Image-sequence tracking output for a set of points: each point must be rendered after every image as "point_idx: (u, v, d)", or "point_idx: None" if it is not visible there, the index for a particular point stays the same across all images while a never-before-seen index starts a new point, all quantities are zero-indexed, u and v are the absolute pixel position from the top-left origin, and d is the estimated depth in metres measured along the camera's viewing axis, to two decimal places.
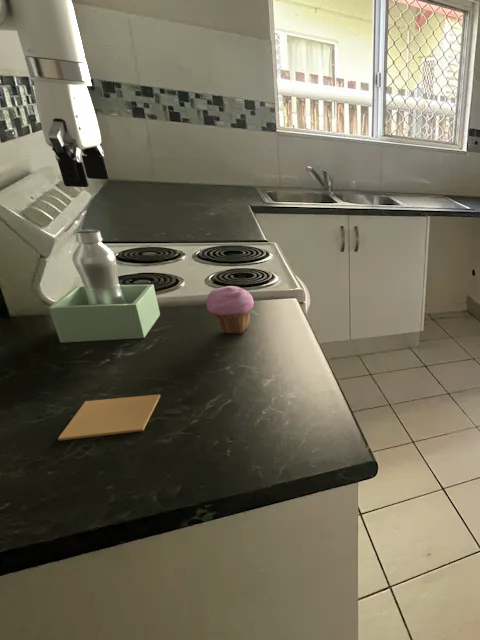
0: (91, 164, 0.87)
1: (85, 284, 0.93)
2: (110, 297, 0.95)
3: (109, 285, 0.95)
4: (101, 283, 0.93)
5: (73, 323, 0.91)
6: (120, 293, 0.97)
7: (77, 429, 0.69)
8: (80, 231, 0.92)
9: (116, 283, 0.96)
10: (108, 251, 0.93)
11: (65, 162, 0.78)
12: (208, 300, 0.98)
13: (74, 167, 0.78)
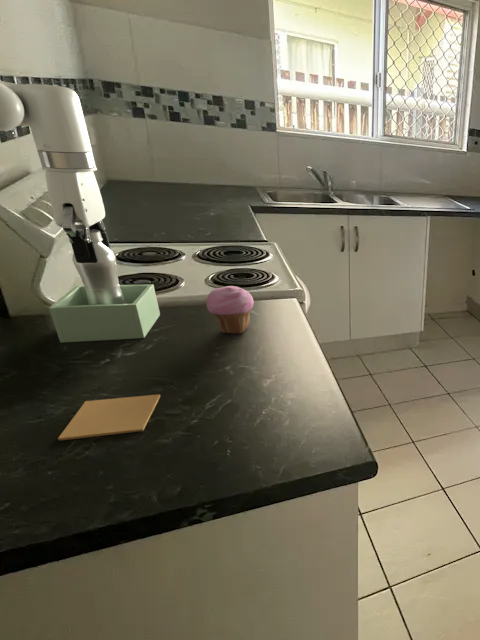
0: None
1: (85, 284, 0.93)
2: (110, 297, 0.95)
3: (109, 285, 0.95)
4: (101, 283, 0.94)
5: (73, 323, 0.91)
6: (120, 293, 0.97)
7: (77, 429, 0.69)
8: None
9: (116, 283, 0.96)
10: (108, 251, 0.93)
11: (77, 243, 0.88)
12: (208, 300, 0.98)
13: (85, 247, 0.88)
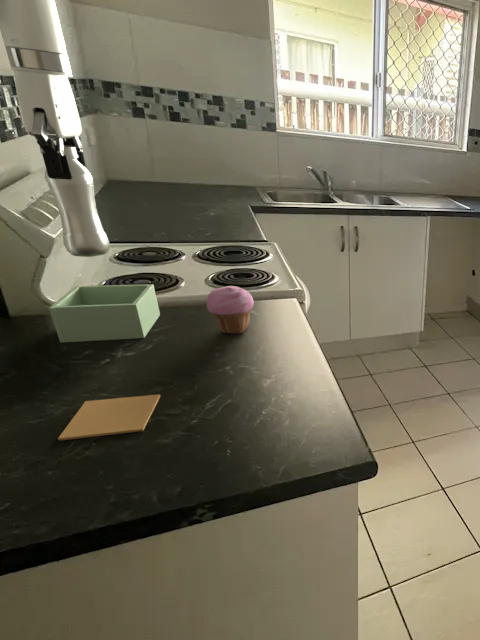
0: None
1: (58, 205, 0.86)
2: (86, 221, 0.88)
3: (85, 207, 0.88)
4: (76, 205, 0.86)
5: (73, 323, 0.91)
6: (97, 218, 0.90)
7: (77, 429, 0.69)
8: None
9: (93, 206, 0.89)
10: (84, 170, 0.86)
11: (49, 155, 0.81)
12: (208, 300, 0.98)
13: (58, 160, 0.81)
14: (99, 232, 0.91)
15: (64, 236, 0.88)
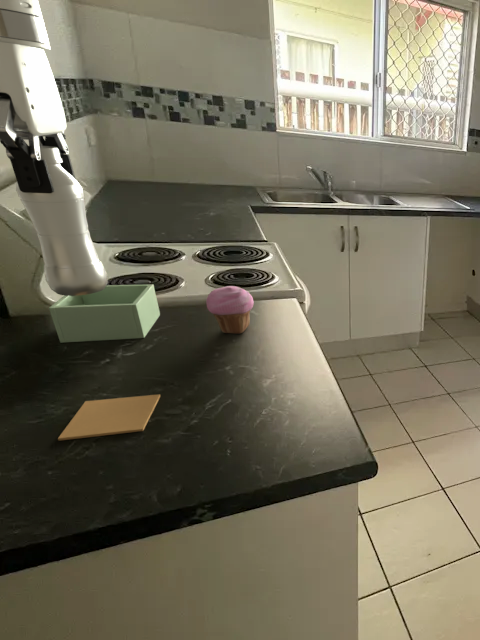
0: None
1: (37, 227, 0.63)
2: (75, 249, 0.65)
3: (74, 230, 0.64)
4: (60, 227, 0.63)
5: (73, 323, 0.91)
6: (90, 244, 0.67)
7: (77, 429, 0.69)
8: None
9: (84, 229, 0.66)
10: (71, 179, 0.63)
11: (20, 160, 0.57)
12: (208, 300, 0.98)
13: (33, 167, 0.58)
14: (93, 262, 0.67)
15: (46, 269, 0.65)
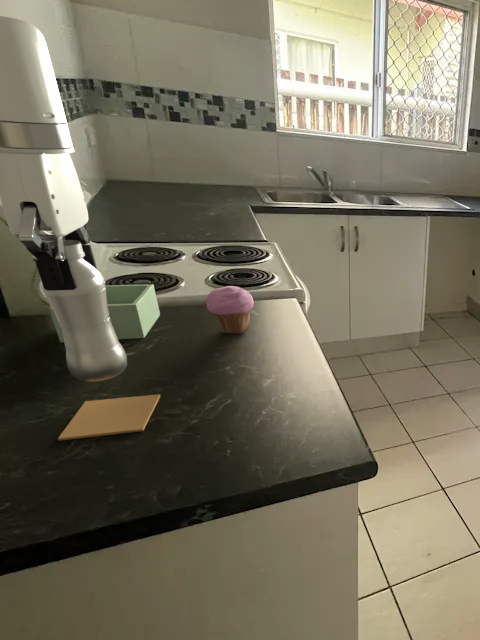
0: None
1: (59, 320, 0.64)
2: (96, 338, 0.66)
3: (95, 320, 0.65)
4: (82, 319, 0.64)
5: None
6: (111, 330, 0.68)
7: (77, 429, 0.69)
8: (51, 243, 0.62)
9: (105, 317, 0.67)
10: (93, 271, 0.64)
11: (45, 262, 0.58)
12: (208, 300, 0.98)
13: (57, 267, 0.59)
14: (114, 348, 0.68)
15: (68, 358, 0.66)
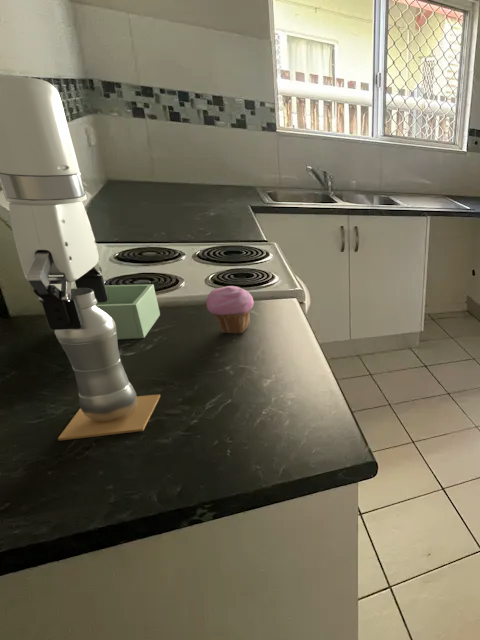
0: (86, 286, 0.69)
1: (73, 364, 0.66)
2: (108, 380, 0.69)
3: (107, 363, 0.68)
4: (95, 363, 0.67)
5: None
6: (122, 371, 0.71)
7: (77, 429, 0.69)
8: None
9: (116, 359, 0.69)
10: (105, 317, 0.67)
11: (51, 303, 0.59)
12: (208, 300, 0.98)
13: (63, 308, 0.60)
14: (124, 388, 0.71)
15: (80, 399, 0.69)
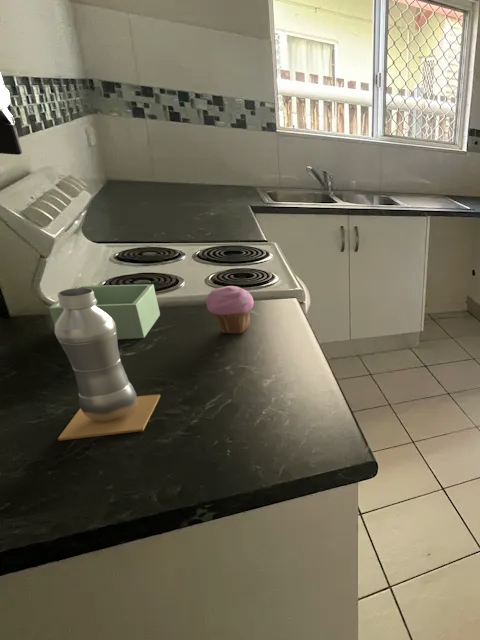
0: None
1: (73, 364, 0.66)
2: (108, 380, 0.69)
3: (107, 363, 0.68)
4: (95, 363, 0.67)
5: None
6: (122, 371, 0.71)
7: (77, 429, 0.69)
8: (65, 291, 0.65)
9: (116, 359, 0.69)
10: (105, 317, 0.67)
11: None
12: (208, 300, 0.98)
13: None
14: (124, 388, 0.71)
15: (80, 399, 0.69)
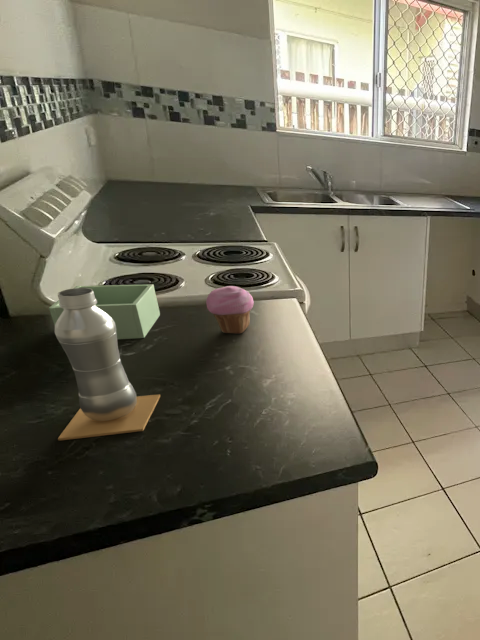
0: None
1: (73, 364, 0.66)
2: (108, 380, 0.69)
3: (107, 363, 0.68)
4: (95, 363, 0.67)
5: None
6: (122, 371, 0.71)
7: (77, 429, 0.69)
8: (65, 291, 0.65)
9: (116, 359, 0.69)
10: (105, 317, 0.67)
11: None
12: (208, 300, 0.98)
13: None
14: (124, 388, 0.71)
15: (80, 399, 0.69)
